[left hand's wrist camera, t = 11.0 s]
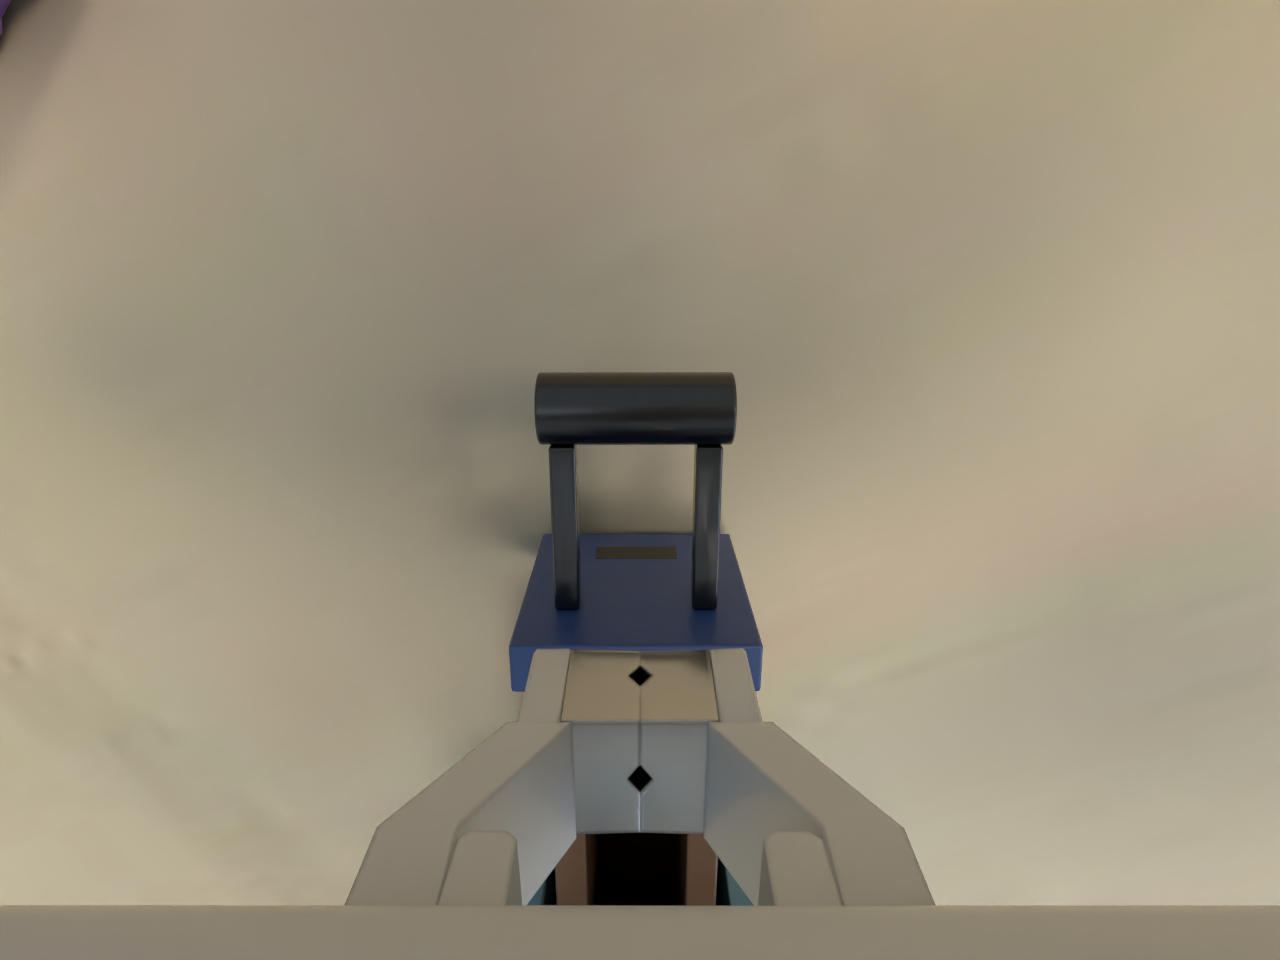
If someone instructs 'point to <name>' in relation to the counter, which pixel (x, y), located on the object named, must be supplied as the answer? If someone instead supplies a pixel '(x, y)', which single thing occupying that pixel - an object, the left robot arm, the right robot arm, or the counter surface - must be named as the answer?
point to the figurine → (3, 11)
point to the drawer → (635, 593)
